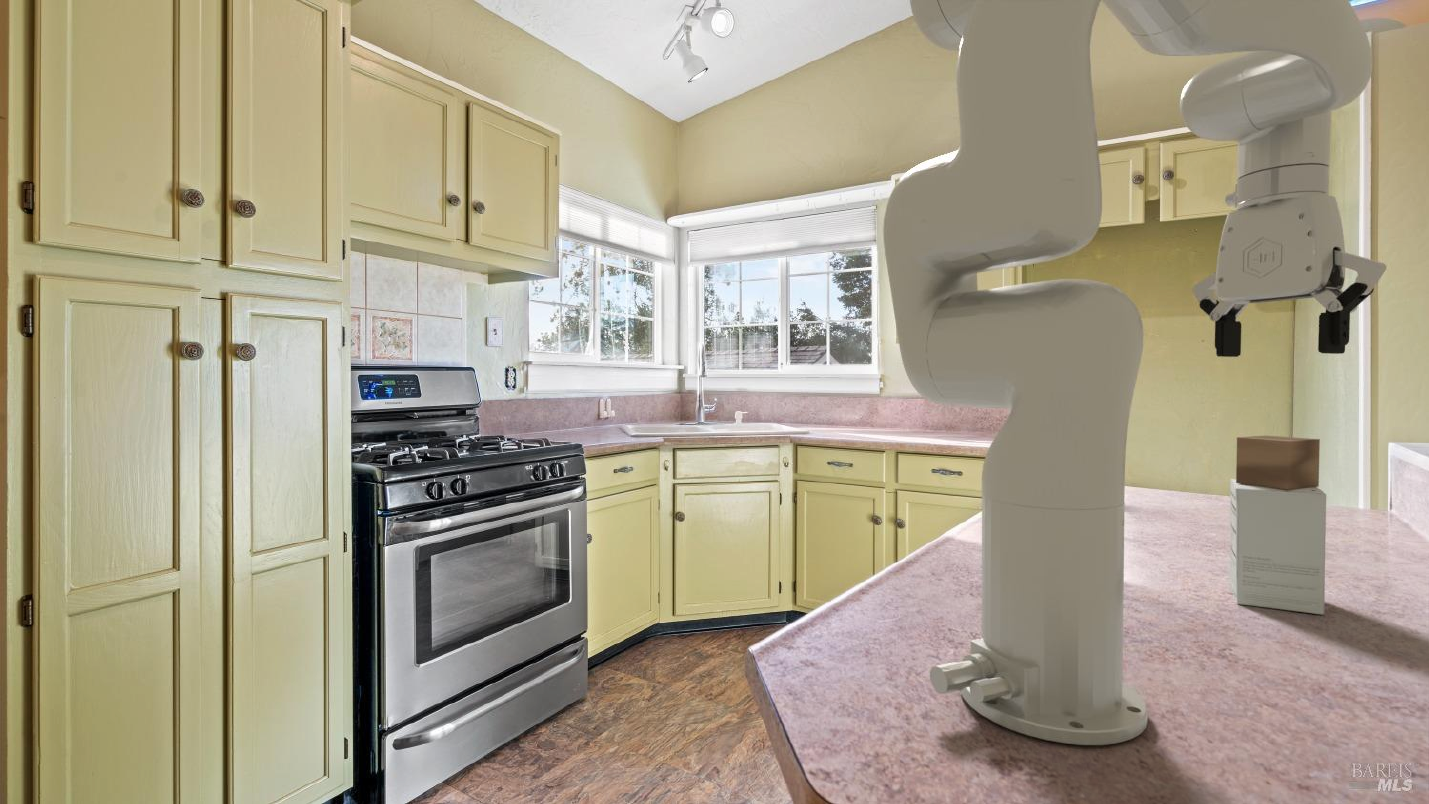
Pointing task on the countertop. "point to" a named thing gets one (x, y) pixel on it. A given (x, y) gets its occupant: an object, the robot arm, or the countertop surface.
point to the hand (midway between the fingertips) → (1276, 355)
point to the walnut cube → (1278, 462)
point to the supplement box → (1277, 547)
